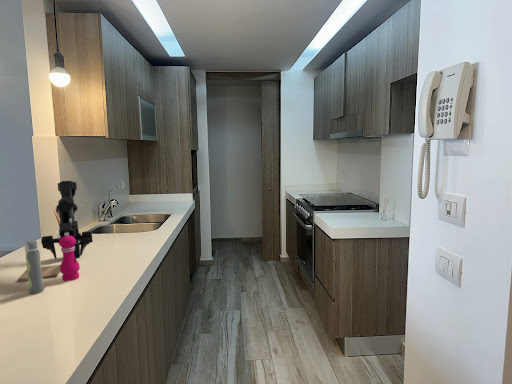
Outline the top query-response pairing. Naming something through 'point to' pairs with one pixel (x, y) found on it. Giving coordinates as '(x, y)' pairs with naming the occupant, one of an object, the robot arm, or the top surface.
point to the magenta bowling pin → (68, 258)
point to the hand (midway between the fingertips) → (68, 256)
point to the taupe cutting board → (43, 273)
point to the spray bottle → (34, 267)
